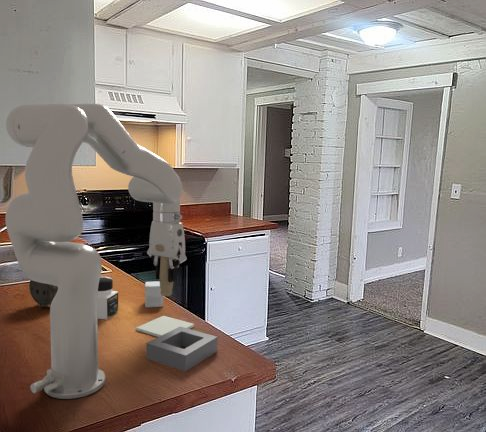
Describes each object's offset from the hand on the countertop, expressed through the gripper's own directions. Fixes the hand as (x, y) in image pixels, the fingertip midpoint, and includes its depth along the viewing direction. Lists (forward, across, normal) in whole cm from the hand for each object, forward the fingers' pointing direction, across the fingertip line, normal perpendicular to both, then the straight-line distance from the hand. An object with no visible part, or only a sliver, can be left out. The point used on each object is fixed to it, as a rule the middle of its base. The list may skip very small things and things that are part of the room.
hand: (166, 279), depth 130 cm
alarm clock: (+15, +43, +9) cm, 46 cm away
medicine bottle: (+15, +23, +3) cm, 28 cm away
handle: (+5, 0, 0) cm, 5 cm away
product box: (+15, +17, -14) cm, 27 cm away
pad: (+15, 0, 0) cm, 15 cm away
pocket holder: (+15, -15, +11) cm, 24 cm away
